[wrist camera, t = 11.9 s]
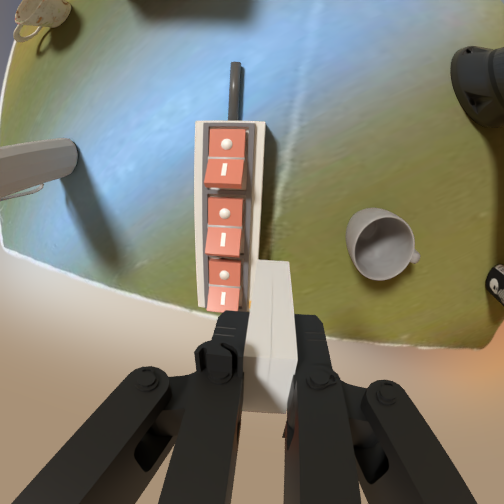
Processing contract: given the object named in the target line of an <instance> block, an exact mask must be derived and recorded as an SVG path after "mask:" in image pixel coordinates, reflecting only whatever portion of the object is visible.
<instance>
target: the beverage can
mask: <svg viewBox="0 0 504 504" xmlns="http://www.w3.org/2000/svg"><path fill="white" fill-rule="evenodd" d="M486 288H487V290H488V291H489V292H490V293H491V294H492V295H493V296H494V297H495V298H496V299H497V300H498V301H499V302H500V303H501V304H502V305H503V306H504V265H502V264H499V265H497V266H494V267H493V268H492V269H491V270H490V272H489V274H488V276H487V279H486Z"/></svg>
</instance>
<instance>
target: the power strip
mask: <svg viewBox="0 0 504 504" xmlns="http://www.w3.org/2000/svg"><path fill="white" fill-rule="evenodd" d="M240 72H241V63H240V62H231V70H230V88H229V109H228V121H195V167H194V200H195V247H196V272H197V291H198V307H205V308H207V303H208V293H209V260H210V259H211V258H214V259H228V260H241V290H240V298H239V309H238V311H242V312H247V311H250V307H251V300H252V293H253V286H254V279H255V272H256V265H257V260H259V246H260V229H261V210H262V191H263V172H264V152H265V132H266V123H265V122H260V121H238V113H239V92H240ZM210 129H245V130H246V145H245V164H244V172H243V180H242V189H234V188H207V187H205V185H204V180H205V174H206V169H207V164H208V156H209V141H210ZM209 197H234V198H243V230H242V236H241V247H240V258H239V257H225V256H211V255H206V254H205V248H206V240H207V232H208V228H207V225H208V198H209Z"/></svg>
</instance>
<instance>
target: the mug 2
mask: <svg viewBox="0 0 504 504" xmlns="http://www.w3.org/2000/svg"><path fill="white" fill-rule="evenodd" d="M346 244H347V249H348V252H349V255H350V257H351V259H352V261H353V263H354V265H355V266H356V268H357V269H358V271H359V272H360V273H361V274H362V275H364V276H365V277H367V278H369V279H372V280H387V279H390V278H393V277H395V276H396V275H398V274H399V273H401V272H402V271H403V270H404V269H405V268H406V267H407V265H408V264H409V262H411V263H414V264H416V263H417V262H418V261H419V259H420V254H419V253H418V252H417V251H416V250H415V249H414V246H415V241H414V235H413V232H412V230H411V228H410V227H409V225H408V224H407V223H406V222H405V221H404V220H403V219H402V218H400V217H399V216H397V215H395V214H393V213H392V212H389V211H387V210H384V209H380V208H367V209H363V210H361V211H358V212H357V213H355V214H354V215H353V216H352V217H351V219H350V221H349V223H348V226H347V229H346Z"/></svg>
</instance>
